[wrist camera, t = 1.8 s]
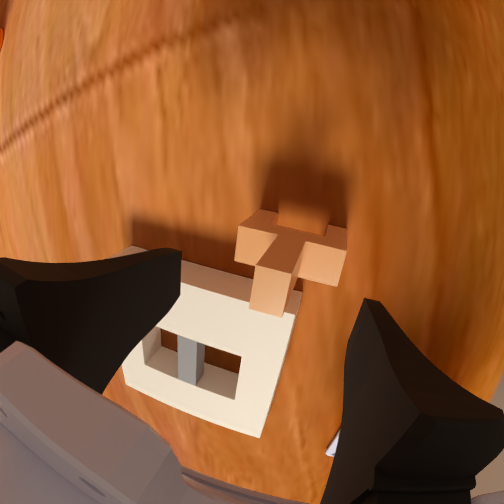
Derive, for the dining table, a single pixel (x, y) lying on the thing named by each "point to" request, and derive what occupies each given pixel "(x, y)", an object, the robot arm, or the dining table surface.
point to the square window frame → (218, 336)
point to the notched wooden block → (286, 259)
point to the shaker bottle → (1, 37)
